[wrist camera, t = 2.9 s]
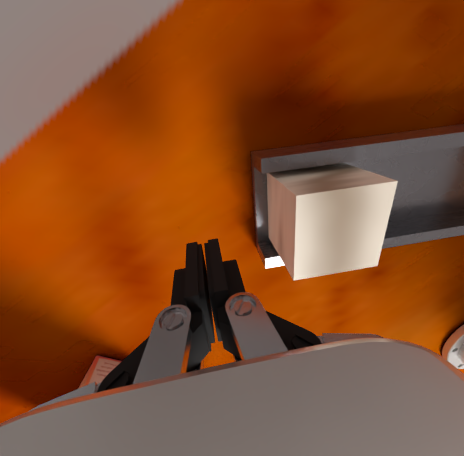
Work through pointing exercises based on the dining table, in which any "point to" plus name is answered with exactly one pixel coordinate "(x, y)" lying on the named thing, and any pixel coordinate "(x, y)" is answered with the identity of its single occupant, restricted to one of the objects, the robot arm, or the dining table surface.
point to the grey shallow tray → (386, 164)
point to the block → (328, 218)
